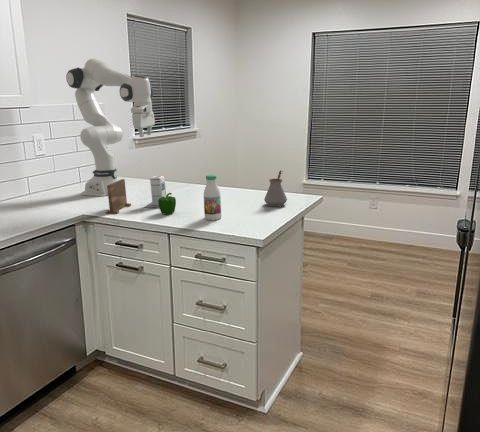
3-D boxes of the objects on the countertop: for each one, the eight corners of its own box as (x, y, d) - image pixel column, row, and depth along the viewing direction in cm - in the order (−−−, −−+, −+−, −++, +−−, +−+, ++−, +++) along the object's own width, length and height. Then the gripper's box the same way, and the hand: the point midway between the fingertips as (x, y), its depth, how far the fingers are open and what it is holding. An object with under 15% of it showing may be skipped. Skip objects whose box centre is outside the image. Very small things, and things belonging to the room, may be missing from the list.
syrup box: (162, 205, 232) (160, 177, 228) (152, 205, 233) (149, 177, 229) (166, 202, 237) (164, 175, 233) (156, 202, 238) (154, 175, 234)
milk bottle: (204, 216, 212) (202, 174, 207) (221, 215, 212) (219, 173, 207) (204, 221, 205) (202, 177, 199) (221, 220, 205) (220, 176, 200)
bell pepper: (160, 216, 214) (158, 196, 211) (158, 212, 222) (156, 192, 219) (178, 214, 216) (176, 194, 213) (175, 210, 224) (174, 190, 221)
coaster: (144, 208, 230) (144, 206, 230) (153, 202, 242) (153, 201, 242) (166, 208, 228) (166, 207, 228) (174, 202, 239) (174, 201, 239)
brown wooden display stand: (105, 213, 222) (102, 185, 218) (120, 205, 237) (117, 179, 233) (117, 213, 221) (114, 185, 217) (131, 205, 236) (128, 179, 232)
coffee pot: (284, 208, 222) (284, 178, 218) (262, 207, 225) (261, 177, 221) (291, 198, 242) (291, 170, 238) (270, 197, 245) (270, 169, 241)
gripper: (145, 107, 241) (147, 133, 245) (129, 109, 222) (131, 137, 226) (156, 107, 240) (158, 133, 244) (141, 109, 221) (143, 137, 224)
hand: (145, 135), depth 235 cm, fingers open, 8 cm apart
